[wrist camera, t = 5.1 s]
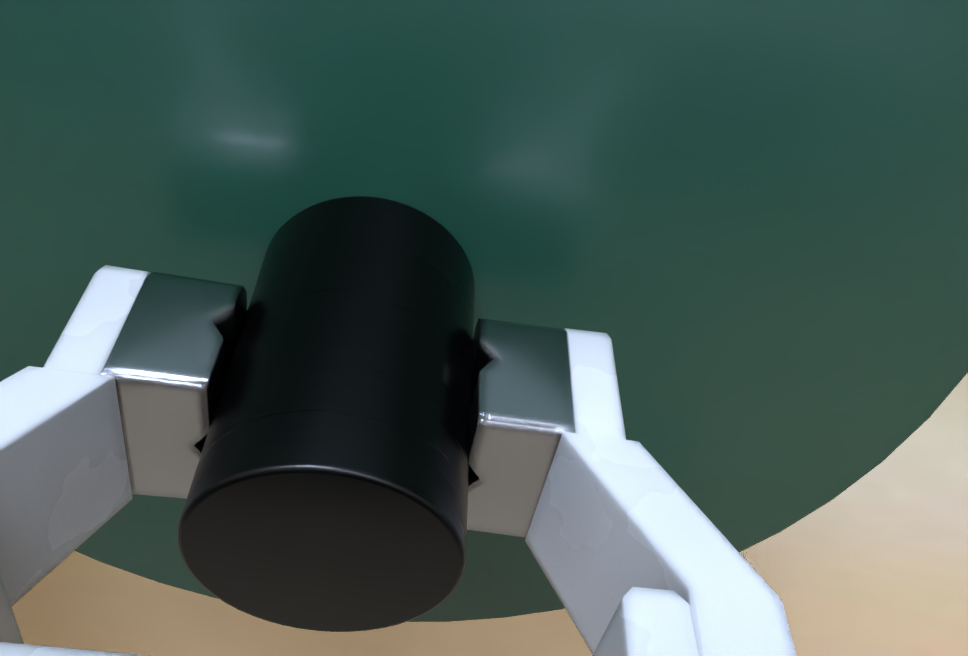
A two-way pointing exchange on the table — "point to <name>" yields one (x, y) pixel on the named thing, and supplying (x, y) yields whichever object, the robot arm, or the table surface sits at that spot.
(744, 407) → the tin lid
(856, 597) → the table surface
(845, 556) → the table surface
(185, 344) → the robot arm
